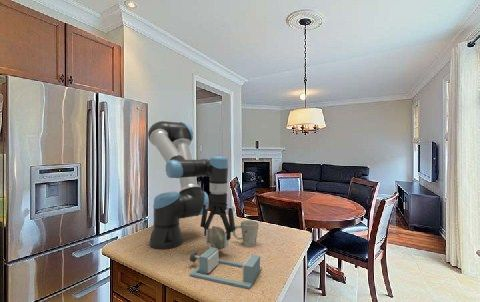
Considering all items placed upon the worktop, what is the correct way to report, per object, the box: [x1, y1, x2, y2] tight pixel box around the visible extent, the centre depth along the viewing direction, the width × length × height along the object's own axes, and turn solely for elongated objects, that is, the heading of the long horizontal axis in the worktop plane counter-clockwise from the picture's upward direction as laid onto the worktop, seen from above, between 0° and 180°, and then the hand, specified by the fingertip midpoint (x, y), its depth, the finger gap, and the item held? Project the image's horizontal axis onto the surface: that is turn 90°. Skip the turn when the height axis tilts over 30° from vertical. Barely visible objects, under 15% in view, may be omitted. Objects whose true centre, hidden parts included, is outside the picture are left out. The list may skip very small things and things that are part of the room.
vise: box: [189, 254, 263, 290], centre depth 89 cm, size 22×14×6 cm, turn 69°
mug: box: [232, 220, 260, 247], centre depth 116 cm, size 8×13×10 cm, turn 78°
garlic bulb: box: [208, 225, 226, 251], centre depth 104 cm, size 9×8×10 cm
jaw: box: [189, 246, 220, 275], centre depth 92 cm, size 9×9×6 cm
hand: (217, 245), depth 105 cm, fingers closed on garlic bulb, 8 cm apart
